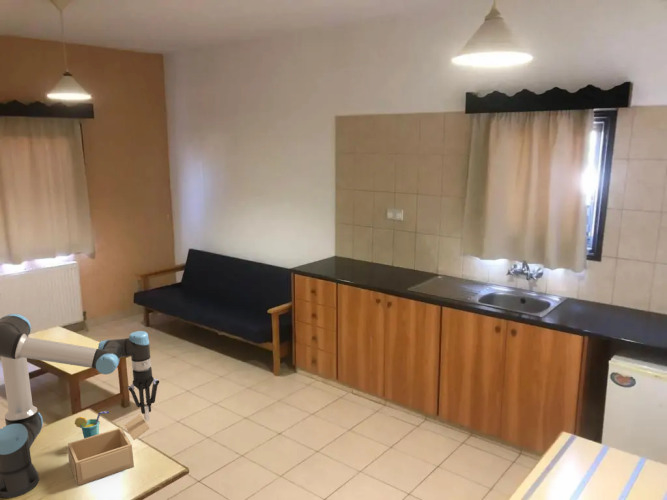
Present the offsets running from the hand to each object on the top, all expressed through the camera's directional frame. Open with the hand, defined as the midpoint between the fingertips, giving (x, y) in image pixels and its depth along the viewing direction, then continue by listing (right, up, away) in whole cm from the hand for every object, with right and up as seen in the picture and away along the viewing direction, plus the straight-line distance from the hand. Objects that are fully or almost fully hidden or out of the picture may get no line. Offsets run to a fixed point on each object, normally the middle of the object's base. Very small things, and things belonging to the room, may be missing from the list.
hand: (146, 419), depth 230 cm
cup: (-26, -14, +8) cm, 30 cm away
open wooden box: (-16, -17, -8) cm, 24 cm away
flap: (-4, -2, -2) cm, 5 cm away
